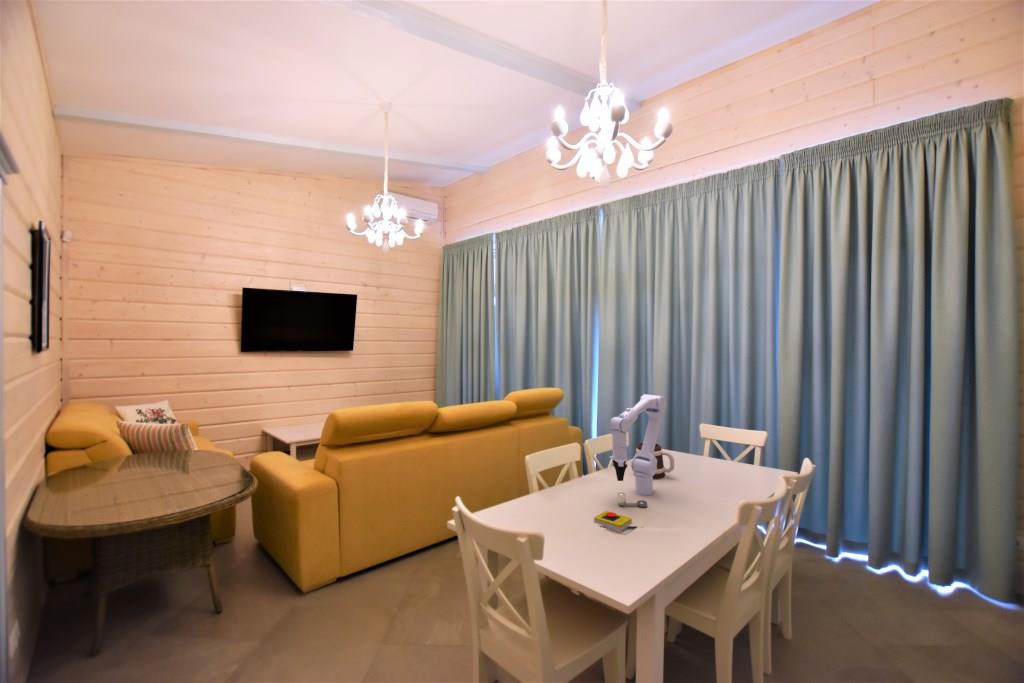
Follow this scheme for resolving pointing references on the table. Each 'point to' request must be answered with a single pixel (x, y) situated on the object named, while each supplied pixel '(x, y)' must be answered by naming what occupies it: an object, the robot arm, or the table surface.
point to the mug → (659, 460)
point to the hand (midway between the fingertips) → (619, 479)
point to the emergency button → (615, 522)
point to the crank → (623, 502)
